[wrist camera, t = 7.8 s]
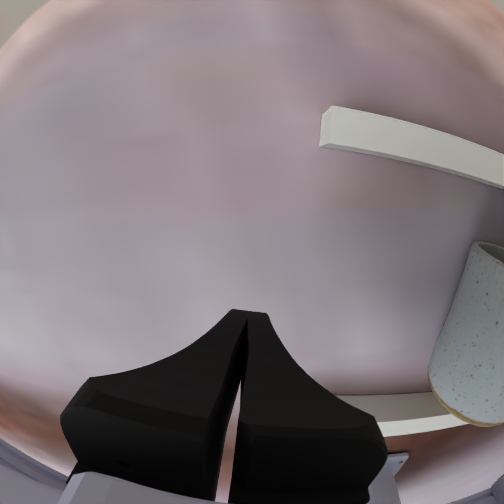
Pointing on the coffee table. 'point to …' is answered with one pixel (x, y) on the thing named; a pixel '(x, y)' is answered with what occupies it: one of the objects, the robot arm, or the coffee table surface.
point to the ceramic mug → (473, 342)
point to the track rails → (428, 155)
